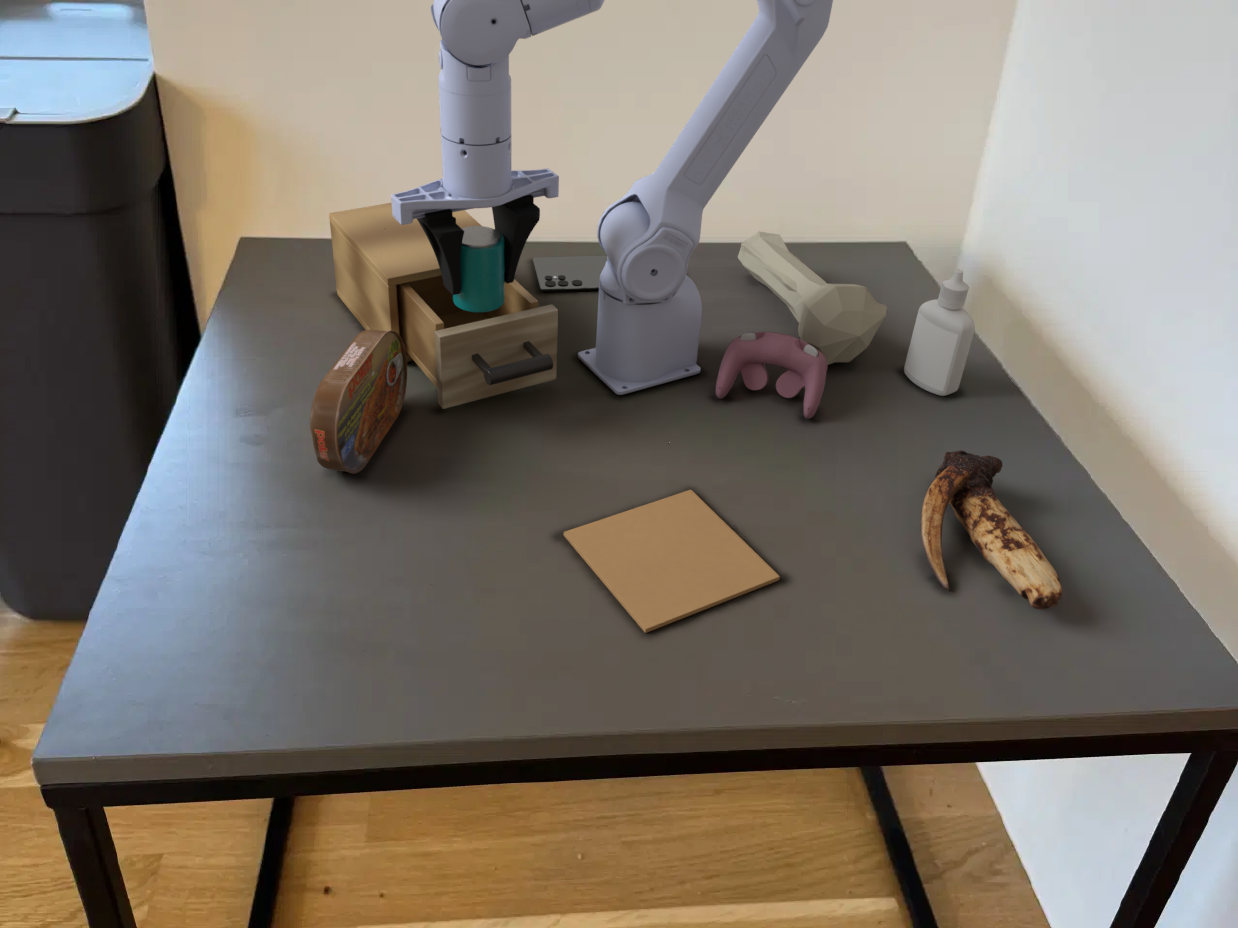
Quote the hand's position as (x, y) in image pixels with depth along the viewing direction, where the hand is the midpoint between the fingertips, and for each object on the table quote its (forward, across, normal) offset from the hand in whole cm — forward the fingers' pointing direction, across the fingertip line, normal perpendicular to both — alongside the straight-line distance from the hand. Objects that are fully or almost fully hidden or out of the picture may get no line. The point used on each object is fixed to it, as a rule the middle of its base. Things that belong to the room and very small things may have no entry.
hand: (479, 283), depth 98 cm
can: (+2, 0, 0) cm, 2 cm away
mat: (+10, -2, +30) cm, 31 cm away
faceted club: (+10, -35, +3) cm, 37 cm away
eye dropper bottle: (+10, -39, +19) cm, 45 cm away
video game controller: (+10, -23, +14) cm, 29 cm away
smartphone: (+10, -22, -14) cm, 28 cm away
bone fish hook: (+10, -24, +39) cm, 47 cm away
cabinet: (+10, 0, -14) cm, 17 cm away
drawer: (+9, 0, -1) cm, 9 cm away
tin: (+10, +13, +5) cm, 17 cm away
